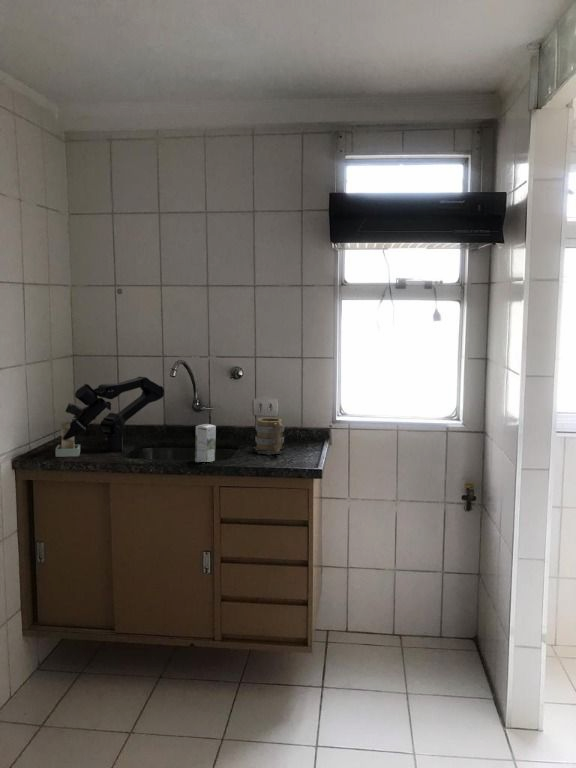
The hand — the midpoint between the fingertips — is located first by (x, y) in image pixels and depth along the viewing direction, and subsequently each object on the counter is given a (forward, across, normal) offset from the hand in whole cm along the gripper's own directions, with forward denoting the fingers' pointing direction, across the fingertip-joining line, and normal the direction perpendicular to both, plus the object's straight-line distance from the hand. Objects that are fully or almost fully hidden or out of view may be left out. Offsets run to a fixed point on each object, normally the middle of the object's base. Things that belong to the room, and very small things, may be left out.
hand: (64, 438), depth 262 cm
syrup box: (-34, +20, +43) cm, 58 cm away
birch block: (+4, 0, +6) cm, 7 cm away
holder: (+4, 0, +6) cm, 7 cm away
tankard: (-54, +9, +64) cm, 84 cm away
